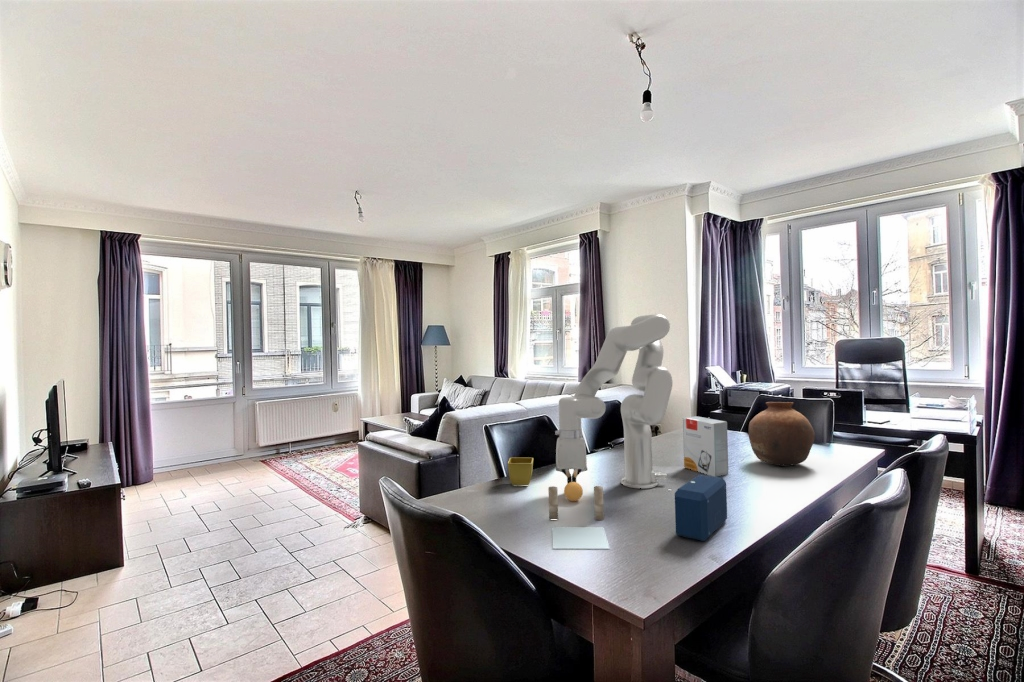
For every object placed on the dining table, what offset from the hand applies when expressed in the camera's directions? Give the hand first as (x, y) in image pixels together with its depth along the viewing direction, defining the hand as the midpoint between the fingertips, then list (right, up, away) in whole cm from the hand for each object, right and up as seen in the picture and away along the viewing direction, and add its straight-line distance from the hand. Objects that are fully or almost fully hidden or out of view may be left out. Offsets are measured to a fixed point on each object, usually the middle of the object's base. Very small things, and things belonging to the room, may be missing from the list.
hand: (571, 488), depth 167 cm
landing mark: (-3, -2, -38) cm, 38 cm away
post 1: (-8, -2, -24) cm, 25 cm away
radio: (+31, -1, -34) cm, 46 cm away
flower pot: (-17, -2, +11) cm, 20 cm away
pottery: (+87, +1, +28) cm, 91 cm away
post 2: (+5, -1, -25) cm, 25 cm away
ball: (-1, +1, -8) cm, 8 cm away
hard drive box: (+54, 0, +22) cm, 58 cm away
